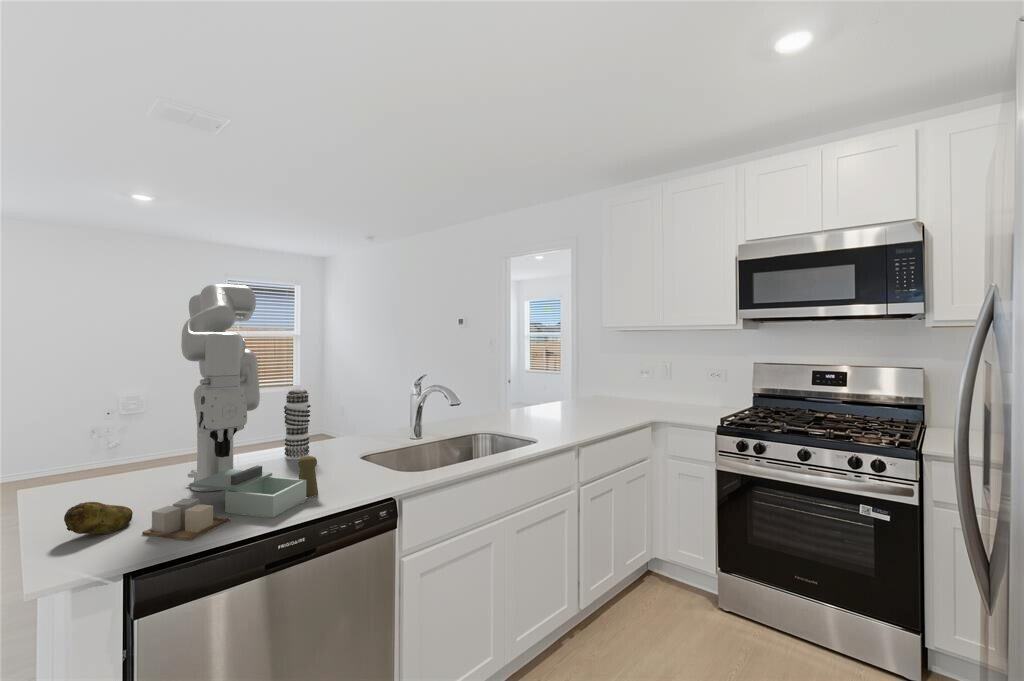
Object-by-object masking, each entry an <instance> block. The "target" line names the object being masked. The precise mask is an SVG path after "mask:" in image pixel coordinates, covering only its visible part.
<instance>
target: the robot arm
mask: <svg viewBox="0 0 1024 681" xmlns="http://www.w3.org/2000/svg"><path fill="white" fill-rule="evenodd" d="M256 307H257V298H256V294H255V292H254V290H253V289H252V288H251V287H249V286H247V285H239V284H223V283H221V284H219V283H218V284H217V283H216V284H215V283H214V284H210V285H207V286H205V287H204V288H202V290H201V291H200V293H199V294H194V295H193V296H191V297H190V299H189V302H188V312H189V317H190V318H189V319H187V320H186V322H185V323H184V325H183V327H182V330H181V341H180V343H181V345H180V346H181V354H182V355H183V357H184V358H185V359H186V360H187V361H189V362H198V365H199V366H198V367H199V374H200V376H201V377H202V378H201V379H200V380H199V385H197V386H196V387H195V389H194V391H193V402H194V403H193V404H194V408H195V414H196V415H195V416H196V436H197V437H196V455H197V456H196V468H195V469H194V468H193V469H191V470H190V472H189V473H187V478H193V482H196V481H198V480H201V479H204V478H206V477H209V476H212V475H215V474H217V473H220V472H223V471H225V470H228V469H234V439H235V438H234V435H235V434H236V433H237V432H239V431H242V430H244V429H245V425H246V424H247V422H248V412H252V411H255V410H256V409H257V408H259V406H260V401H261V400H260V399H261V398H260V397H261V394H260V392H261V391H260V379H259V377H260V376H259V364H258V359H257V355H256V354H255V352H254V351H252V350H251V349H246V348H247V346H246V340H245V338H243V336H242V335H241V334H239V333H237V332H227V330H229V329H230V328H232V327H233V325H234V324H235V322H247V321H248V320H251V318H252V317H253V314H254V312H255V311H256ZM190 489H191V490H192V491H195V492H201V493H202V492H204V493H205V492H217V491H220V490H219V489H209V488H198V487H190Z"/></svg>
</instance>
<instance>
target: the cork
mask: <svg viewBox="0 0 1024 681" xmlns="http://www.w3.org/2000/svg"><path fill="white" fill-rule="evenodd" d="M317 463H318V460H317V458H316V457H315V456H312V455H309V456H305V457H302V458H300V459H298V461H297V467H298V468H299V471H298V478H297V479H303V480H306V497H308V498H313V497H315V495H316V496H318V494H319V488H318V480H317V474H316V473H317V472H316V467H317V465H318V464H317ZM312 496H313V497H312Z"/></svg>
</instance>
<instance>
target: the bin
mask: <svg viewBox="0 0 1024 681" xmlns="http://www.w3.org/2000/svg"><path fill="white" fill-rule="evenodd" d="M224 502H225V504H224V505H225V507H224V508H225V514H231V515H242V516H250V517H251V516H252V517H257V518H258V517H259V518H270V519H275V518H277V517H278V516H280V515H281V514H284V513H285V512H287V511H288V510H290V509H292V508H294V507H295V506H300V505H301V504H304V503H305V502H307V498H306V480H303V479H298V478H292V477H291V478H290V477H281V476H279V477H277V476H270V477H268V478H265V479H263V480H261V481H259V482H256V483H254V484H252V485H249V486H247V487H245V488H242V489H240V490H238V491H229V490H225V501H224Z"/></svg>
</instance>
